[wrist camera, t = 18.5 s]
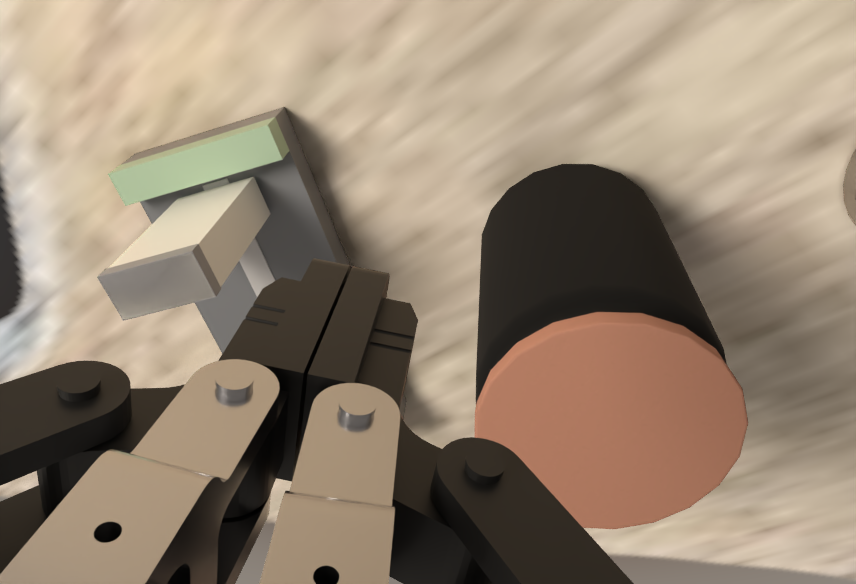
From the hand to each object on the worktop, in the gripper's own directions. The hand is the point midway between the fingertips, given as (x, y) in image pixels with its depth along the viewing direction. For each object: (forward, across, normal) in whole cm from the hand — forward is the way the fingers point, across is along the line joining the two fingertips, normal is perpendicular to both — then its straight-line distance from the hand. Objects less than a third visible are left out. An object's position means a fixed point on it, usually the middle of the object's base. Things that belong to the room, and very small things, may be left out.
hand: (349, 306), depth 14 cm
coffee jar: (+29, +9, -10) cm, 32 cm away
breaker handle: (+26, -11, -12) cm, 30 cm away
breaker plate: (+28, -8, -18) cm, 34 cm away
